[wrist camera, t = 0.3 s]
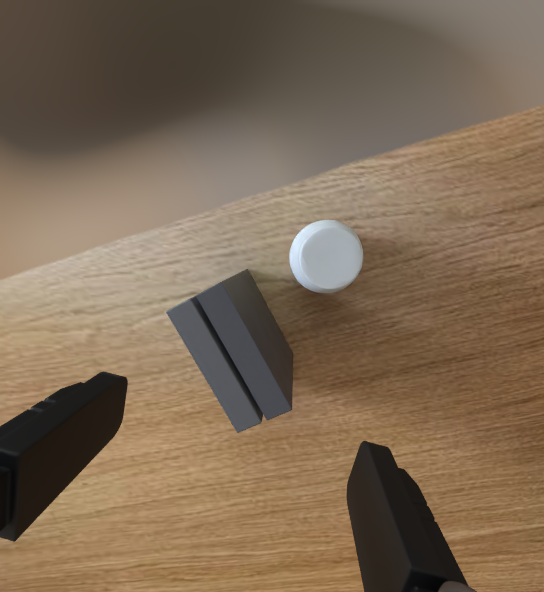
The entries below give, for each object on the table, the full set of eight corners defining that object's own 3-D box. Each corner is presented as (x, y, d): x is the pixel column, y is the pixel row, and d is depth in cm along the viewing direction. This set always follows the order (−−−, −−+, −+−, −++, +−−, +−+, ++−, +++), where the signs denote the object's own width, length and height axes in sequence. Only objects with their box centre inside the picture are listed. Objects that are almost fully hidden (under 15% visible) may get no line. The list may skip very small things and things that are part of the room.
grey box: (210, 288, 28) (165, 311, 19) (247, 268, 28) (221, 281, 18) (256, 371, 30) (237, 433, 20) (293, 353, 29) (292, 410, 19)
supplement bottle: (318, 293, 27) (331, 318, 18) (279, 256, 27) (270, 262, 18) (358, 252, 26) (393, 256, 17) (317, 214, 26) (330, 196, 17)
